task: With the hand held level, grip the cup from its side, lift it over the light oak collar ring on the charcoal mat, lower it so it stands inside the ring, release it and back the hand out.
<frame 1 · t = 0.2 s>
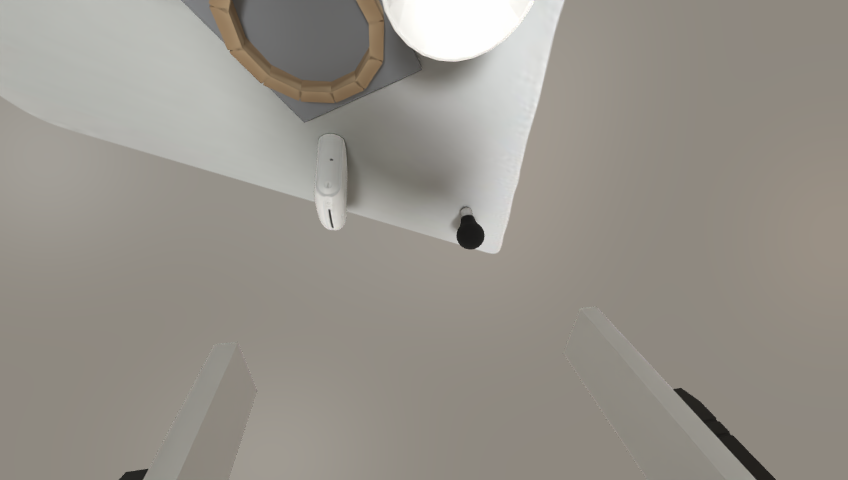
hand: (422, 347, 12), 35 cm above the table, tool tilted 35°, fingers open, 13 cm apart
collar mat: (306, 21, 33), on the table
light bulb: (465, 206, 69), on the table
collar ring: (305, 30, 32), on the collar mat, point 1 cm above the table
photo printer: (334, 154, 51), on the table
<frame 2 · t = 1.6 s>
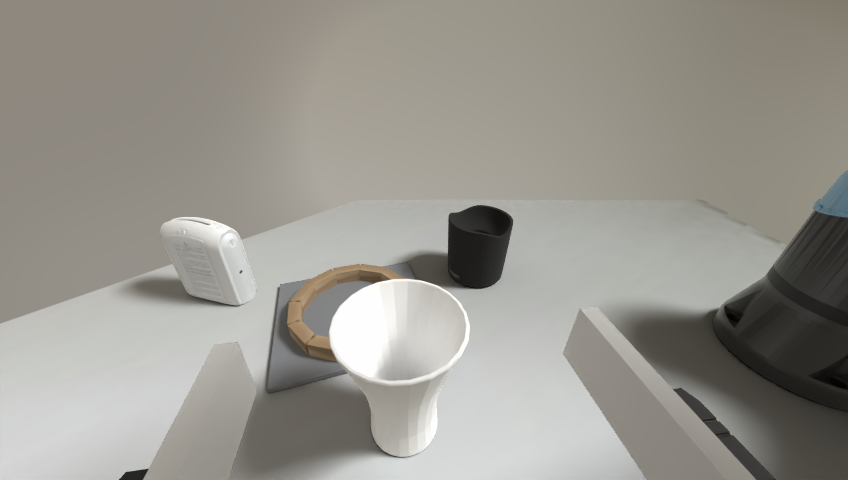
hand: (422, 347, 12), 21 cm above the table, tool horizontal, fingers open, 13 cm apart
collar mat: (354, 314, 43), on the table
pen holder: (474, 273, 51), on the table
collar ring: (353, 305, 42), on the collar mat, point 1 cm above the table
cup: (404, 421, 31), on the table
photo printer: (224, 294, 46), on the table
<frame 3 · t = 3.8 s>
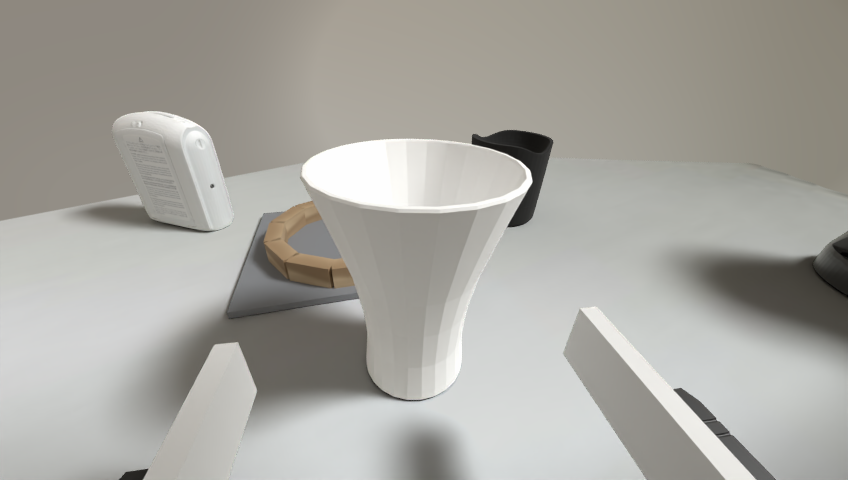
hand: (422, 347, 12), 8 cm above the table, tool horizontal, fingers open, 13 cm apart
collar mat: (351, 244, 34), on the table
pen holder: (499, 214, 42), on the table
collar ring: (350, 231, 33), on the collar mat, point 1 cm above the table
cup: (414, 358, 22), on the table
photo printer: (194, 222, 38), on the table
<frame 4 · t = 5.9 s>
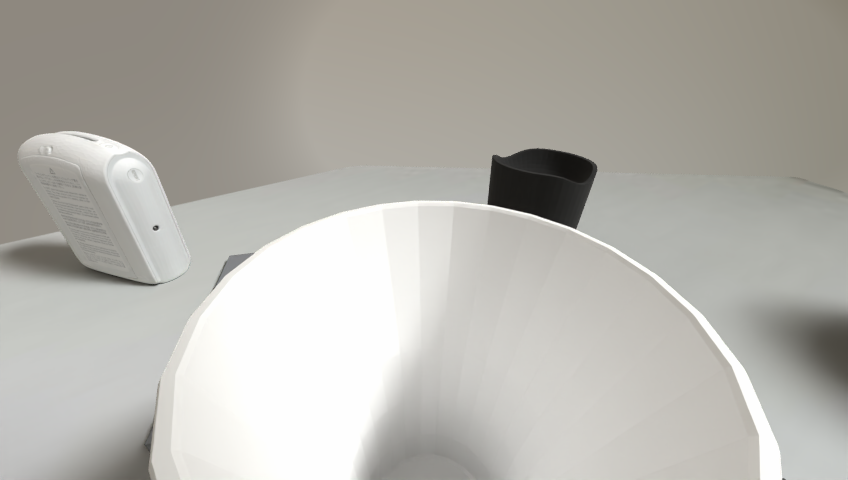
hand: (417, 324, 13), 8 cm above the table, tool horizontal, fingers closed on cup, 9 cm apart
collar mat: (339, 303, 26), on the table
pen holder: (522, 251, 35), on the table
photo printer: (141, 268, 30), on the table
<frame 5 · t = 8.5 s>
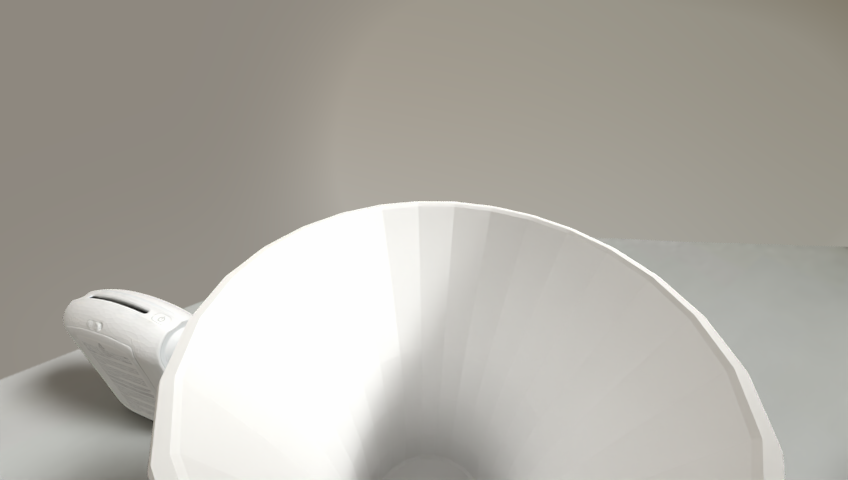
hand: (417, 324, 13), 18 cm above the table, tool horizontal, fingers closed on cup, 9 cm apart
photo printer: (183, 405, 28), on the table
when the fingers open (10 cm above the table, at t = 11.4 s): cup drops 1 cm, resting on collar mat.
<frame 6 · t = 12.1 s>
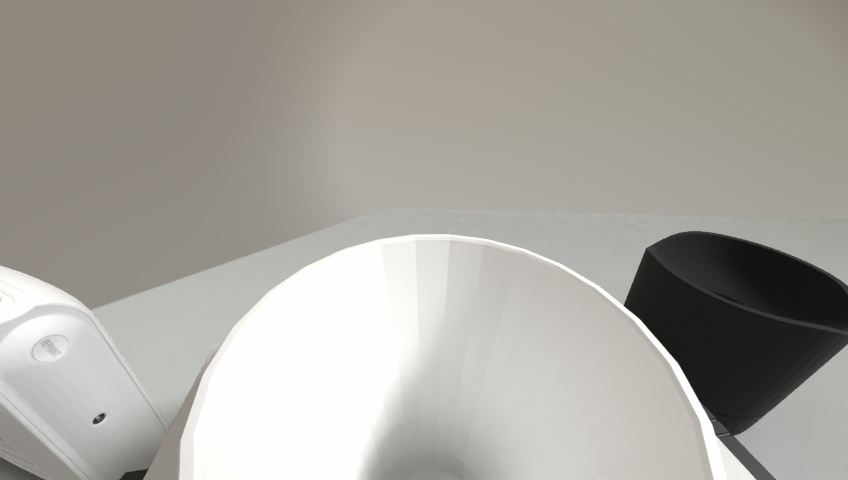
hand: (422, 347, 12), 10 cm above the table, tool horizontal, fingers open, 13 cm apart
pen holder: (669, 380, 23), on the table
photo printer: (87, 442, 18), on the table
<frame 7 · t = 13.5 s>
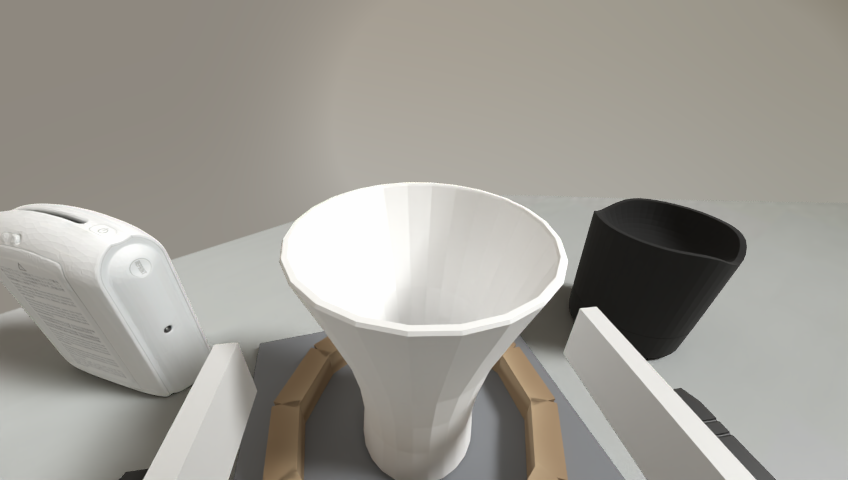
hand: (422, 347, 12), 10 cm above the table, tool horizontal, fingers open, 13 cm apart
collar mat: (416, 427, 19), on the table
pen holder: (618, 322, 28), on the table
collar ring: (416, 412, 19), on the collar mat, point 1 cm above the table
cup: (417, 424, 19), resting on collar mat
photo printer: (146, 363, 23), on the table
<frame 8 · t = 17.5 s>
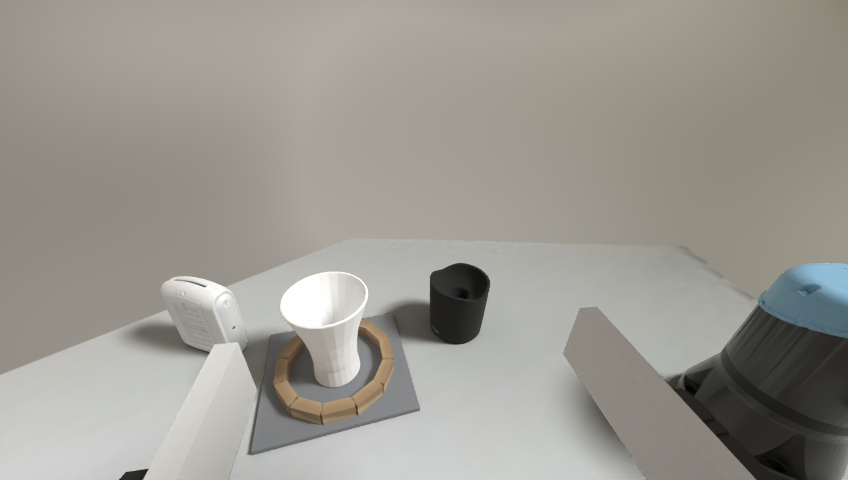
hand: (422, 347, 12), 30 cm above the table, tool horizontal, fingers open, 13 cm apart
collar mat: (337, 370, 46), on the table
pen holder: (454, 326, 54), on the table
collar ring: (336, 362, 45), on the collar mat, point 1 cm above the table
cup: (337, 368, 45), resting on collar mat
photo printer: (218, 343, 49), on the table
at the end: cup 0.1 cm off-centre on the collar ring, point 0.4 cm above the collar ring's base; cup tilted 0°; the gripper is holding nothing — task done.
